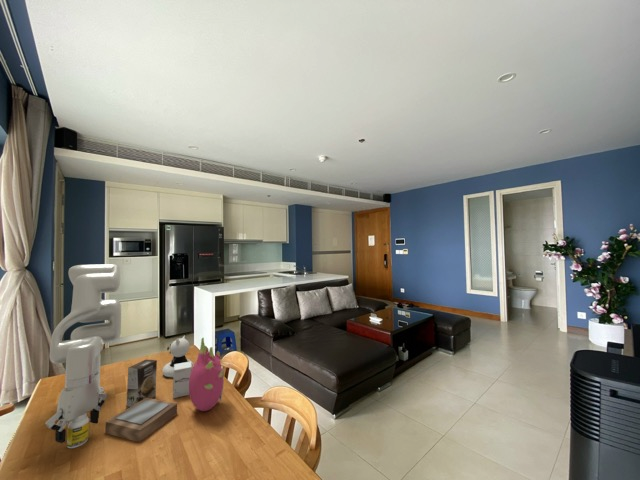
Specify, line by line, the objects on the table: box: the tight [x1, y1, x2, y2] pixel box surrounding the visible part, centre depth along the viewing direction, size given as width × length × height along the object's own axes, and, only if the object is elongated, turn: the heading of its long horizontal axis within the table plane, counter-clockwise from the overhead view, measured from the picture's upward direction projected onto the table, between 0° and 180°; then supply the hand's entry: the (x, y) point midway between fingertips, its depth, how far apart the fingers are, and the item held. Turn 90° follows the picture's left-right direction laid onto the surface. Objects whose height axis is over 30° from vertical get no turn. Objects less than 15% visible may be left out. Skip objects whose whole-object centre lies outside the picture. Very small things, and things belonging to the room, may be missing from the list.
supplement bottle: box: [66, 412, 90, 449], centre depth 88 cm, size 5×5×10 cm
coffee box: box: [125, 359, 158, 408], centre depth 113 cm, size 9×6×16 cm
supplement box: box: [172, 360, 193, 399], centre depth 119 cm, size 7×7×13 cm
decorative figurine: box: [161, 335, 194, 378], centre depth 139 cm, size 15×15×20 cm
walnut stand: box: [104, 397, 178, 443], centre depth 98 cm, size 16×16×4 cm
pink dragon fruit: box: [189, 337, 225, 412], centre depth 108 cm, size 18×14×30 cm
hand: (78, 431), depth 88 cm, fingers open, 9 cm apart
